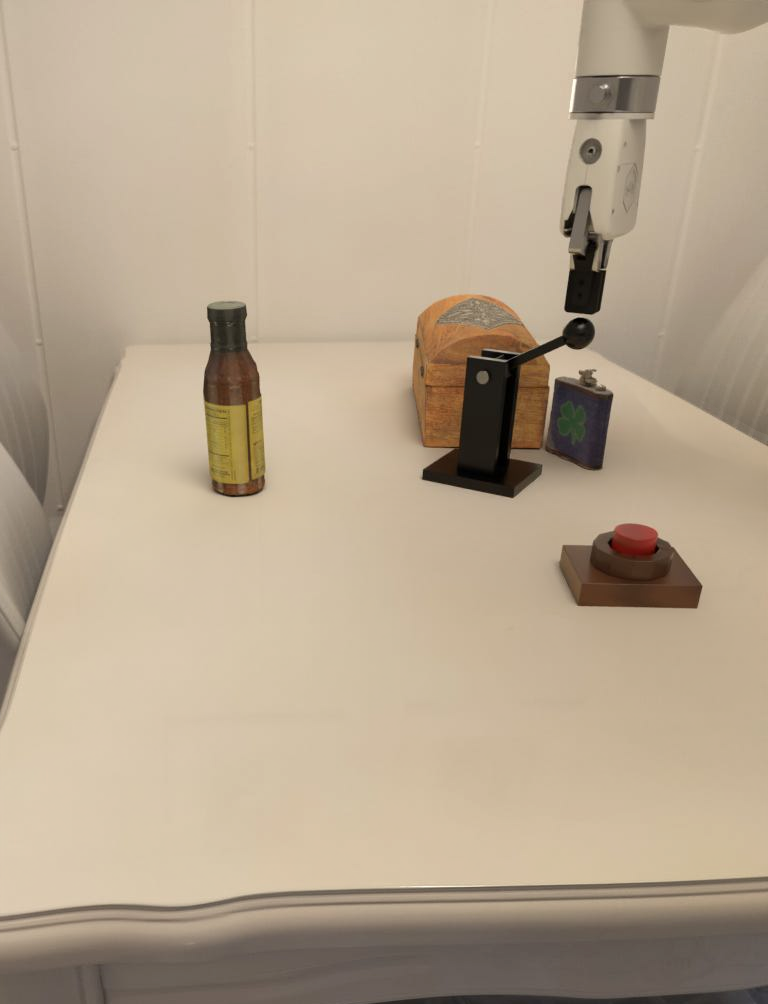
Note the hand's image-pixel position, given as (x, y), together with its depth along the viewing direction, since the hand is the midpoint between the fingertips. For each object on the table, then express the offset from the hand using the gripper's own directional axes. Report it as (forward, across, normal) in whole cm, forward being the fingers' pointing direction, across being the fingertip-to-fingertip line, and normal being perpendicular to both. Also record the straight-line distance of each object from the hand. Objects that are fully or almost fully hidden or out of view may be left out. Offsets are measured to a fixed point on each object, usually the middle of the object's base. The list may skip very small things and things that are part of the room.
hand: (581, 311), depth 92 cm
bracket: (+19, 0, +9) cm, 21 cm away
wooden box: (+19, +23, +19) cm, 36 cm away
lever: (+6, 0, +3) cm, 7 cm away
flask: (+19, +12, +2) cm, 23 cm away
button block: (+19, -20, -13) cm, 30 cm away
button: (+16, -20, -13) cm, 28 cm away
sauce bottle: (+19, -18, +30) cm, 40 cm away
